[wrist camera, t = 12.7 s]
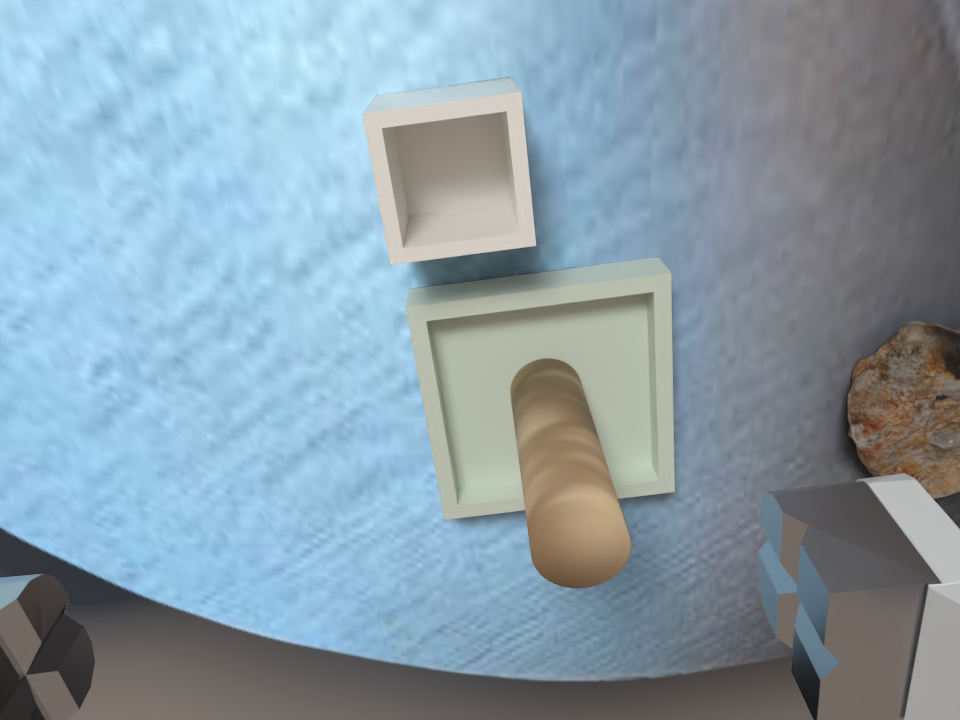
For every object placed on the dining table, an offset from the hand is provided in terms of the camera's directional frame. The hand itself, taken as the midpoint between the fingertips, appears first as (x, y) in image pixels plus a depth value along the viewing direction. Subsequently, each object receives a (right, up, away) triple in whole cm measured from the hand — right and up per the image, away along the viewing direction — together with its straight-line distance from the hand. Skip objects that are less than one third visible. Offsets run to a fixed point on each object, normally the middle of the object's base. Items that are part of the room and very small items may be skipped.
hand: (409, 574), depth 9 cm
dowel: (+4, +1, +29) cm, 30 cm away
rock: (+24, +1, +32) cm, 40 cm away
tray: (+4, +1, +30) cm, 30 cm away
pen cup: (0, +12, +25) cm, 27 cm away
